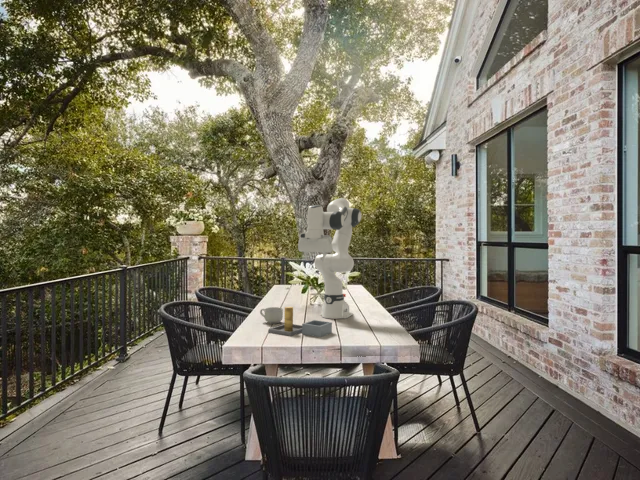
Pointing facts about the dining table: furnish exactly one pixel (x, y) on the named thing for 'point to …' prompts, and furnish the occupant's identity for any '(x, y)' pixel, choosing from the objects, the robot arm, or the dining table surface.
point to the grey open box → (317, 328)
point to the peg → (288, 319)
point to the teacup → (272, 314)
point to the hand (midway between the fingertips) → (314, 260)
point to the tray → (281, 331)
